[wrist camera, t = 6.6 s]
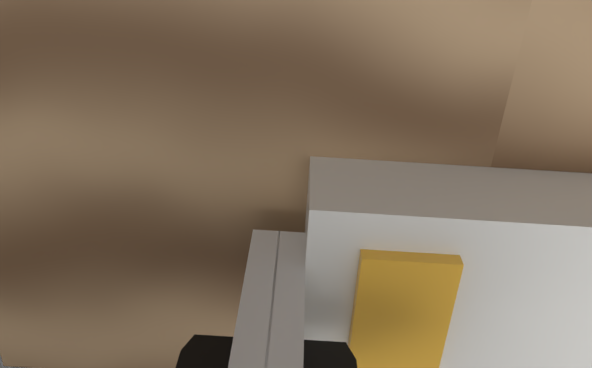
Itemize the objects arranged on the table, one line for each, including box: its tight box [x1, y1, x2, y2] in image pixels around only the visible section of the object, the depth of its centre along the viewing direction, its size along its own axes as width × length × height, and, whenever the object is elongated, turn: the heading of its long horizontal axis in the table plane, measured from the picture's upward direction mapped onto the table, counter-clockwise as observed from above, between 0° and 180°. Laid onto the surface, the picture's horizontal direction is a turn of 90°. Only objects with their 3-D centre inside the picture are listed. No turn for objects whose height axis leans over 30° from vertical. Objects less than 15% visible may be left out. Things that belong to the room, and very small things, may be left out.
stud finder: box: [304, 156, 592, 368], centre depth 15 cm, size 6×10×3 cm, turn 87°
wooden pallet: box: [0, 0, 592, 368], centre depth 18 cm, size 31×26×4 cm
